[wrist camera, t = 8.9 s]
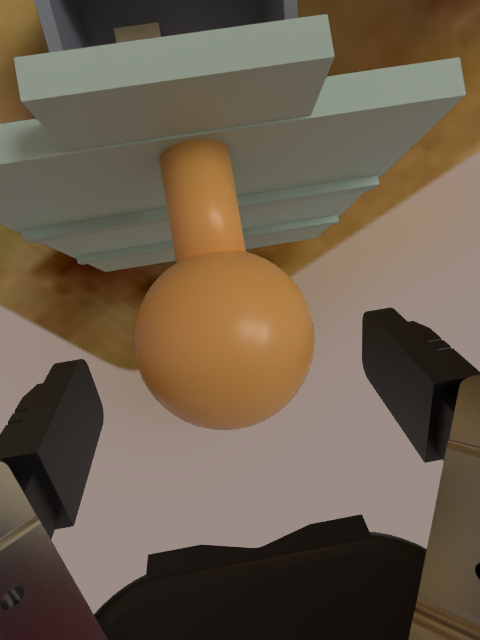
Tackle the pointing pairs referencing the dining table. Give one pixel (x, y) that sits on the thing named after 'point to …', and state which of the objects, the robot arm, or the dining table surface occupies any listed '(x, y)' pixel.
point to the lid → (210, 188)
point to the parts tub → (148, 19)
